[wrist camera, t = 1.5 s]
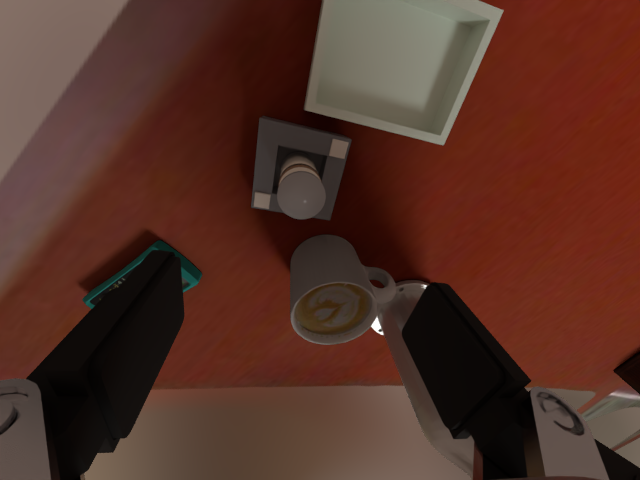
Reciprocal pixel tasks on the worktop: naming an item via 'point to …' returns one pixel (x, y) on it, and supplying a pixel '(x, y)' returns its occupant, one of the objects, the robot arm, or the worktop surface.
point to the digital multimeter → (187, 268)
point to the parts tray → (398, 62)
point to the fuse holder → (292, 137)
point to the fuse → (300, 187)
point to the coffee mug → (334, 291)
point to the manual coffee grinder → (630, 372)
